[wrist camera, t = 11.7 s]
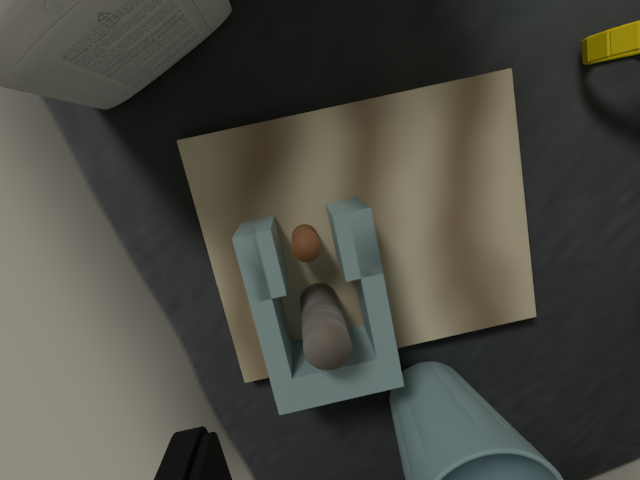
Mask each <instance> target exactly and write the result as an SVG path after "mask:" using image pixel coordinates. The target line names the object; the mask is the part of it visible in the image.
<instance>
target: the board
mask: <svg viewBox="0 0 640 480" xmlns="http://www.w3.org/2000/svg"><path fill="white" fill-rule="evenodd" d="M176 141H177V144H178V148H179V151H180V155H181V158H182V162H183V166H184V169H185V173H186V176H187V180H188V183H189V187H190V190H191V194H192V197H193V201H194V204H195V208H196V211H197V215H198V219H199V222H200V226H201V229H202V233H203V236H204V240H205V243H206V247H207V250H208V254H209V257H210V261H211V265H212V268H213V272H214V275H215V279H216V282H217V286H218V289H219V293H220V296H221V300H222V303H223V307H224V311H225V314H226V318H227V321H228V325H229V328H230V332H231V335H232V339H233V342H234V346H235V349H236V353H237V357H238V360H239V364H240V367H241V371H242V374H243V378H244V381H245V383H247V382H251V381H256V380H260V379H264V378H269V375H268V371H267V368H266V364H265V360H264V356H263V353H262V349H261V345H260V342H259V338H258V334H257V330H256V327H255V323H254V319H253V316H252V312H251V308H250V304H249V301H248V297H247V293H246V289H245V286H244V282H243V278H242V275H241V271H240V267H239V263H238V260H237V256H236V252H235V248H234V245H233V241H232V237H233V236H234V234H235V233H236V231H237V229H238V228H239V226H240V225H241V223H242V222H247V221H251V220H256V219H260V218H265V217H269V216H274V217H275V221H276V225H277V229H278V234H279V238H280V242H281V246H282V250H283V254H284V258H285V263H286V267H287V295H286V296H282V297H281V300H282V304H283V308H284V312H285V316H286V320H287V324H288V328H289V332H290V336H291V340H292V342H294V341H299V340H303V351H304V356H305V358H306V360H307V361H308V362H309V363H310V364H311V365H312V366H313V367H315V368H317V369H320V370H333V369H336V368H338V367H340V366H342V365H343V364H344V363H345V362H346V361H347V360H348V358H349V357H350V355H351V351H352V343H351V339H350V336H349V333H348V330H347V329H351V328H356V327H360V326H364V325H363V320H362V316H361V311H360V306H359V301H358V296H357V291H356V286H355V281H354V280H353V281H348V282H346V280H345V278H344V275H343V273H342V270H341V268H340V265H339V263H338V260H337V257H336V252H335V247H334V242H333V238H332V233H331V228H330V224H329V219H328V214H327V209H326V205H325V204H328V203H332V202H337V201H341V200H346V199H350V198H355V197H358V198H359V199H361V200H362V201H363V202H365V203H366V204H367V205H368V206H370V207H371V211H372V216H373V221H374V227H375V232H376V238H377V243H378V248H379V254H380V259H381V264H382V270H383V275H384V280H385V286H386V291H387V296H388V302H389V307H390V313H391V318H392V323H393V329H394V334H395V339H396V345H397V348H401V347H405V346H409V345H414V344H418V343H423V342H427V341H431V340H436V339H440V338H445V337H449V336H453V335H458V334H462V333H467V332H471V331H475V330H480V329H484V328H488V327H493V326H497V325H502V324H506V323H510V322H515V321H519V320H524V319H528V318H532V317H536V309H535V298H534V288H533V278H532V268H531V258H530V248H529V238H528V228H527V218H526V208H525V198H524V188H523V178H522V168H521V158H520V148H519V137H518V127H517V117H516V107H515V97H514V87H513V77H512V68H510V69H505V70H500V71H496V72H491V73H487V74H482V75H477V76H473V77H468V78H463V79H459V80H454V81H450V82H445V83H440V84H436V85H431V86H426V87H422V88H417V89H413V90H408V91H403V92H399V93H394V94H389V95H385V96H380V97H376V98H371V99H366V100H362V101H357V102H352V103H348V104H343V105H338V106H334V107H329V108H325V109H320V110H315V111H311V112H306V113H301V114H297V115H292V116H288V117H283V118H278V119H274V120H269V121H264V122H260V123H255V124H251V125H246V126H241V127H237V128H232V129H227V130H223V131H218V132H213V133H209V134H204V135H200V136H195V137H190V138H186V139H181V140H176Z"/></svg>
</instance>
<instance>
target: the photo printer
mask: <svg viewBox="0 0 640 480" xmlns="http://www.w3.org/2000/svg"><path fill="white" fill-rule="evenodd" d="M231 11H232V8H231V5H230V2H229V0H0V86H2V87H5V88H9V89H14V90H19V91H23V92H27V93H32V94H37V95H41V96H46V97H51V98H55V99H60V100H64V101H69V102H73V103H78V104H82V105H86V106H91V107H95V108H99V109H110V108H113V107H115V106H117V105H119V104H121V103H122V102H124V101H126V100H128V99H129V98H131V97H132V96H133V95H135V94H136V93H137V92H139V91H140V90H142V89H143V88H144V87H146V86H147V85H148V84H149V83H151V82H152V81H153V80H155V79H156V78H157V77H159V76H160V75H161V74H162V73H164V72H165V71H166V70H168V69H169V68H170V67H171V66H173V65H174V64H175V63H176V62H178V61H179V60H180V59H181V58H183V57H184V56H185V55H186V54H188V53H189V52H190V51H191V50H193V49H194V48H195V47H196V46H197V45H199V44H200V43H201V42H202V41H203V40H205V39H206V38H207V37H208V36H209V35H210V34H212V33H213V32H214V31H215V30H216V29H217V28H218V27H219V26H220V25H221V24H222V23H223V22H224V21H225V20H226V18H227V17H228V16H229V15H230V13H231Z"/></svg>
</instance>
